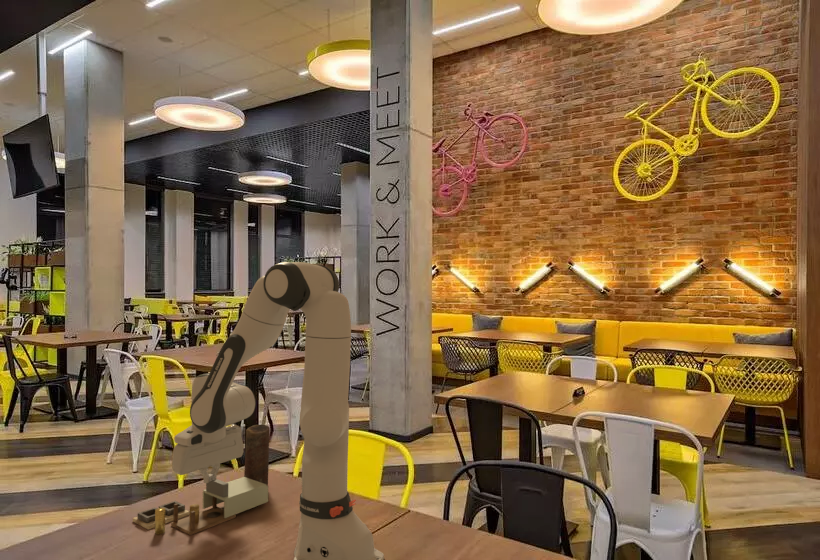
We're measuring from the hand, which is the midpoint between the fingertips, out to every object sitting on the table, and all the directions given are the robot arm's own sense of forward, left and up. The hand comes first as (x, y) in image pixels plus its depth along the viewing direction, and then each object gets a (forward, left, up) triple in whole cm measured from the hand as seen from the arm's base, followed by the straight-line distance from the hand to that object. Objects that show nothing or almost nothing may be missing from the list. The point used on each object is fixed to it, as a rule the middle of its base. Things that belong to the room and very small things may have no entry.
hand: (210, 481), depth 156 cm
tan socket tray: (+12, +7, -11) cm, 17 cm away
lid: (+1, -9, -9) cm, 13 cm away
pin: (+4, +12, -11) cm, 17 cm away
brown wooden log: (+8, -22, -11) cm, 25 cm away
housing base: (+1, +1, -11) cm, 11 cm away
